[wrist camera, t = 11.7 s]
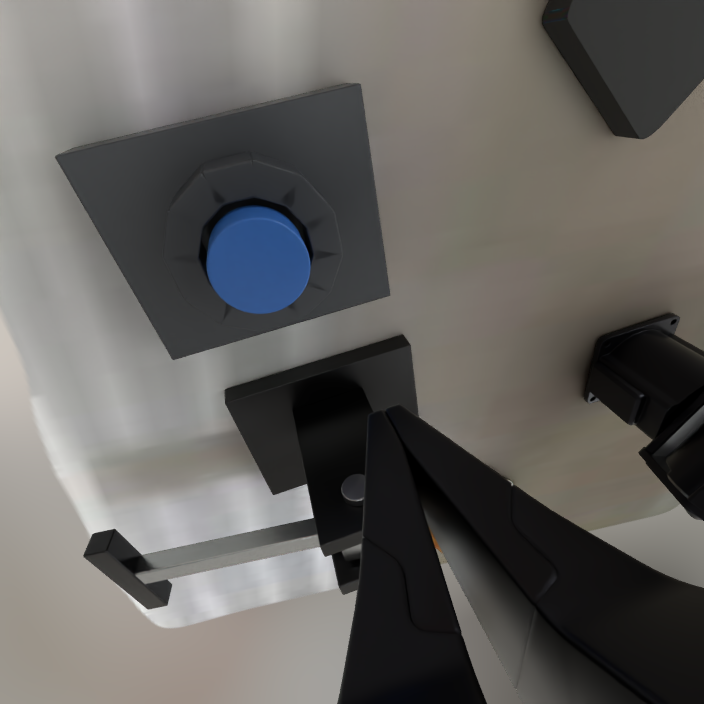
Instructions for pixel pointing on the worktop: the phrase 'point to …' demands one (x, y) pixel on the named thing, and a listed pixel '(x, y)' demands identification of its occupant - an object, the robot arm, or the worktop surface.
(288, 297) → the button
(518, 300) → the worktop surface
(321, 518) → the tap bracket
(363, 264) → the switch
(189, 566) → the tap lever
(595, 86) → the smart home device
